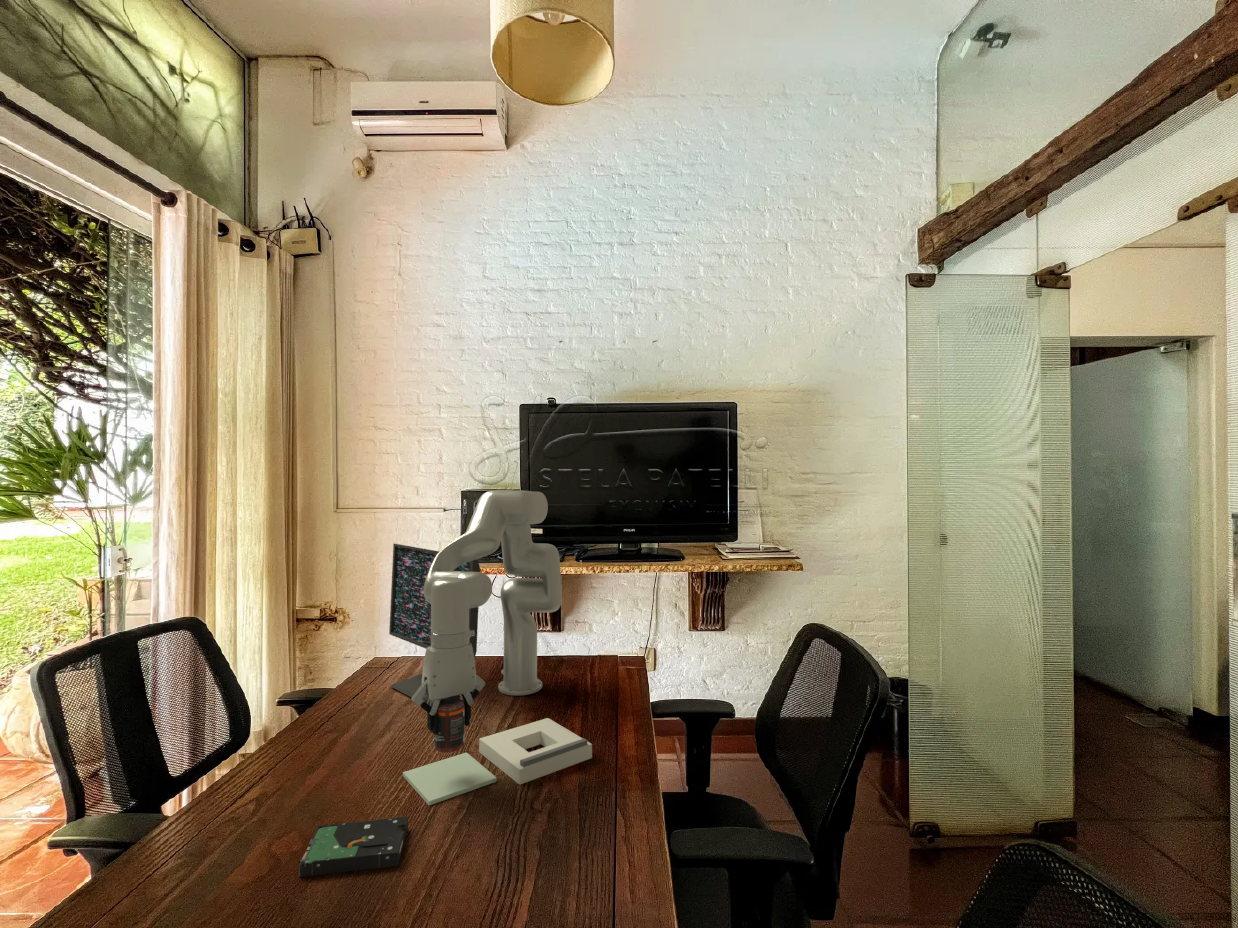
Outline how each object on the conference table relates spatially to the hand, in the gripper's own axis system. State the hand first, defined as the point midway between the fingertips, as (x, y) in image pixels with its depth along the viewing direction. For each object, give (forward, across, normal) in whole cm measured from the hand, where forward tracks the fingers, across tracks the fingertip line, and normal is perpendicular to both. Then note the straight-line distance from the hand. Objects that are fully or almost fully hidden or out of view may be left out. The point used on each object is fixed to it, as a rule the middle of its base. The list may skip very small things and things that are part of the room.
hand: (449, 727), depth 123 cm
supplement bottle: (+4, 0, 0) cm, 4 cm away
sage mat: (+11, 0, 0) cm, 11 cm away
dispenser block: (+10, -19, +2) cm, 22 cm away
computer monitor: (+11, -17, -52) cm, 56 cm away
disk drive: (+11, +22, +13) cm, 27 cm away
